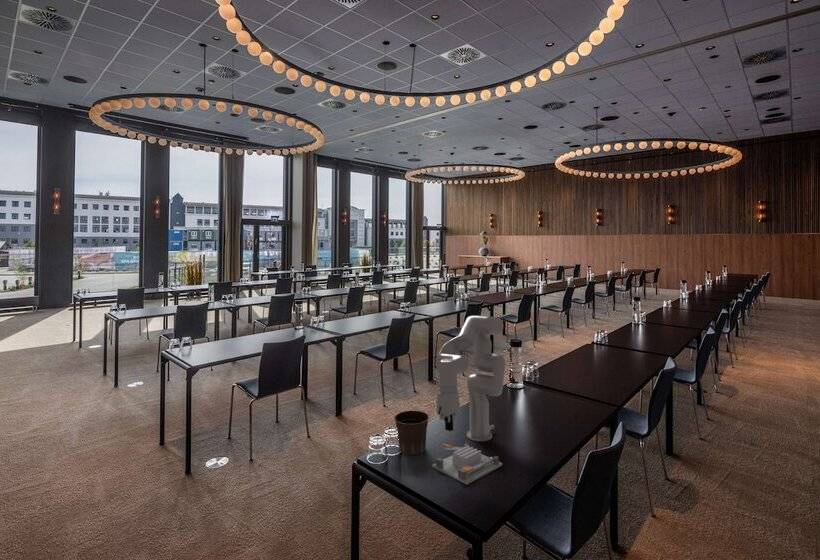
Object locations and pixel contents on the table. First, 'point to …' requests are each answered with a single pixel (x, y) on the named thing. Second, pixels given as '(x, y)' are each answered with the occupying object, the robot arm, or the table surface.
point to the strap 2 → (477, 465)
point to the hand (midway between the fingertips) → (449, 429)
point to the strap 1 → (450, 447)
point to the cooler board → (469, 476)
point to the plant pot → (412, 431)
